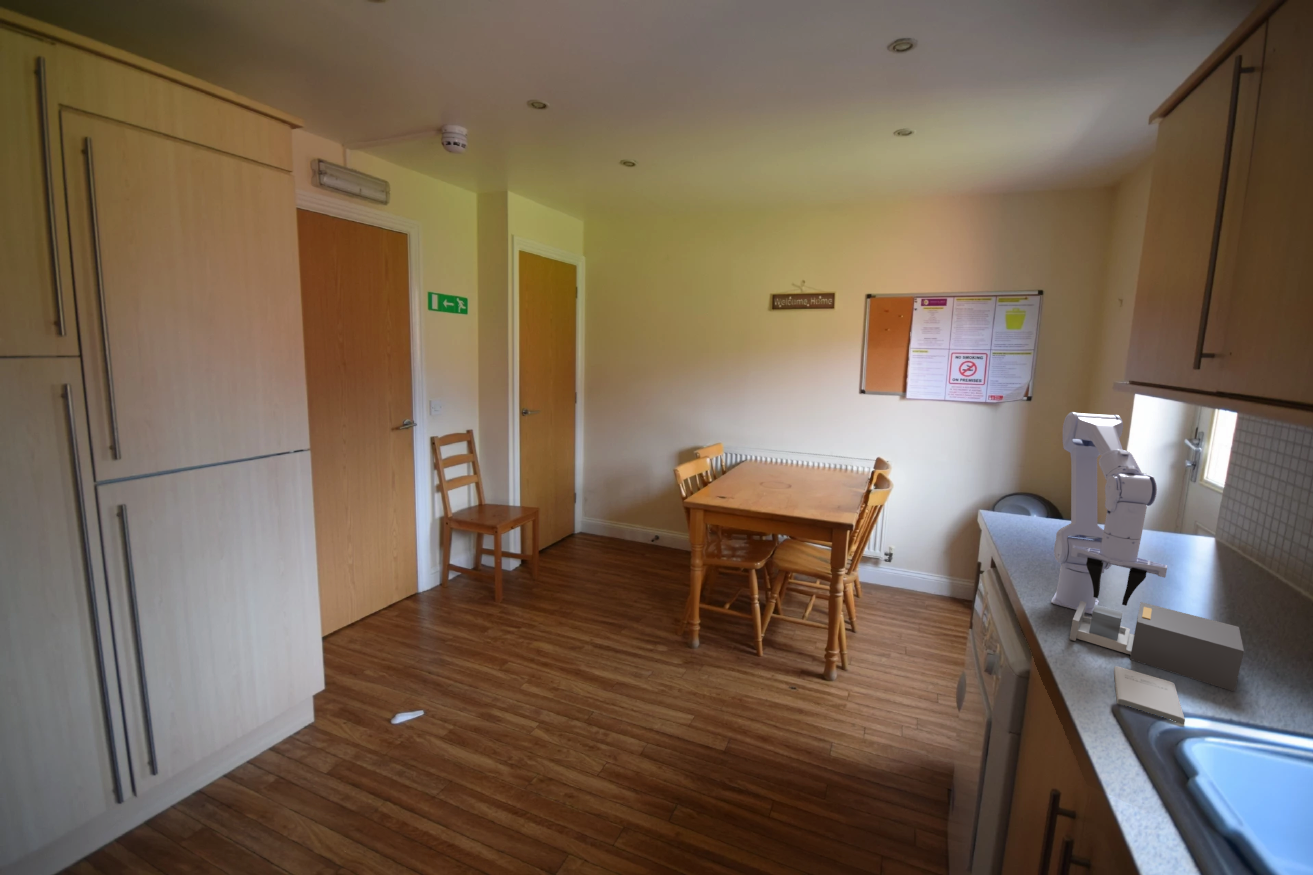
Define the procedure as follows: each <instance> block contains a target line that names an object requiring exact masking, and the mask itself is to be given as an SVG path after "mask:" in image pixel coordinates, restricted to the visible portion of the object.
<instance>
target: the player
mask: <svg viewBox="0 0 1313 875" xmlns="http://www.w3.org/2000/svg"><path fill="white" fill-rule="evenodd" d="M1133 635H1134V640H1133V645H1132V651H1131V655H1130V657H1129V660H1131V661H1134V662H1138V663H1141V664H1144V665H1147V666H1150V667H1155V668H1157V669H1161V670H1164V671H1166V672H1170V673H1173V674H1176V675H1179V676H1183V677H1186V678H1189V679H1193V680H1196V681H1199V682H1202V683H1205V684H1209V685H1212V686H1215V687H1218V688H1222V689H1225V690H1228V691H1231V692H1234V693H1235V692H1236V688H1237V683H1238V679H1239V675H1240V669H1241V666H1242V661H1243V657H1244V653H1245V650H1244V645H1243V640H1242V636H1241V635H1242V634H1241V631H1240V626H1237V625H1233V624H1229V623H1226V622H1221V621H1218V620H1217V621H1216V620H1212V619H1209V618H1205V617H1202V616H1197V615H1195V614H1194V615H1193V614H1190V613H1187V612H1182V611H1178V610H1174V609H1170V608H1166V607H1161V606H1158V605H1154V604H1150V603H1147V602H1143V601H1140V603H1139V608H1138V612H1137V618H1136V622H1135V628H1134V634H1133Z"/></svg>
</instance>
